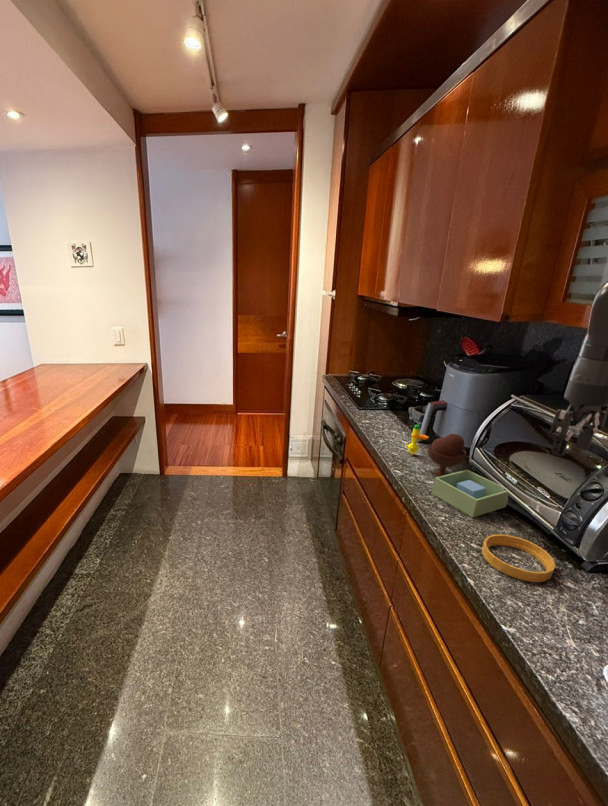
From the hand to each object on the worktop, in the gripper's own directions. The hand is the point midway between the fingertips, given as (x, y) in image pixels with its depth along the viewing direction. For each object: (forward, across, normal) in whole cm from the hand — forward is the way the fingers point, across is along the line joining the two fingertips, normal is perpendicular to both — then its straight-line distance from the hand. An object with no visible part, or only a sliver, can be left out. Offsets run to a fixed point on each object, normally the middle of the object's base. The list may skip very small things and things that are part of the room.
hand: (569, 451), depth 85 cm
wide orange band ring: (+24, -13, -3) cm, 28 cm away
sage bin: (+24, 0, +19) cm, 31 cm away
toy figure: (+24, +8, +48) cm, 54 cm away
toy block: (+24, 0, +19) cm, 30 cm away
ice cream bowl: (+24, +6, +33) cm, 42 cm away
